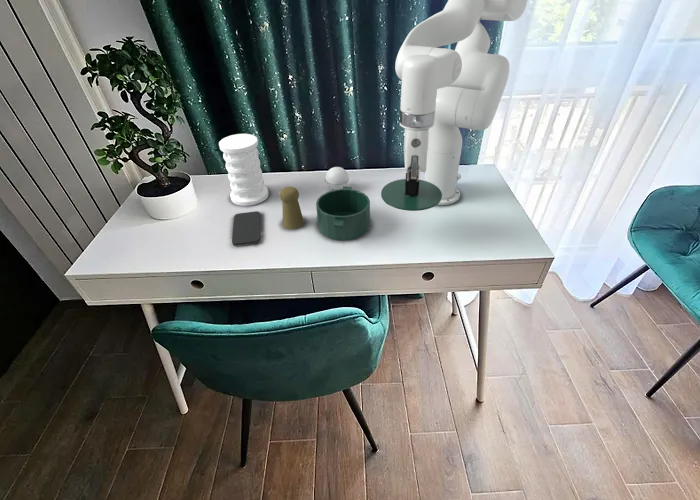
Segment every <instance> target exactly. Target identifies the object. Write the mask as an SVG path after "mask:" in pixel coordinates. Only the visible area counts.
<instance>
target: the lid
mask: <svg viewBox="0 0 700 500" xmlns="http://www.w3.org/2000/svg"><path fill="white" fill-rule="evenodd" d="M410 174H411V172H410ZM405 181H406V178H401V179H396V180H393V181H390V182H388V183H387V184H385V185H384V186H383V187H382V188H381V192H380V196H381V199H382V201H383V202H384V203H385V204H386V205H388V206H390V207H392V208H395V209H397V210H402V211H409V212H418V211H427V210H430V209H432V208H434V207H436V206H438V205H437V204H439V202H440V201H441V199H442V192H441V190H440V189H439V188H438V187H437V186H436V185H434V184H432V183H430V182H427V181H424V179H419V193H418V195H417V196H411V195H405Z"/></svg>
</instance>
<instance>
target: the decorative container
mask: <svg viewBox="0 0 700 500" xmlns="http://www.w3.org/2000/svg"><path fill="white" fill-rule="evenodd" d="M218 146H219V150H220V151H221V152H222V159H223V160H224V161H225V169H226V171H227V179H228V180H229V182H230V185H229V186H230V189H231V190H232V191H231V192H230V194H229V196H230V200H231V202H232V203H233V204H235V205H238V206H242V207H246V206H254V205H257V204H261V203H262V202H264V201H265V200H266V199H267V198H268V197H269V189H268V187H267V186H266V185H265V180H264V178H263V170H262V168H261V160H260V158H259V153H260V152H259V149H258V148H257V147H258V146H259V140H258V137H257V136H256V135H254V134H251V133H236V134H231V135H228V136H226V137H223V138H221V140H219V141H218Z"/></svg>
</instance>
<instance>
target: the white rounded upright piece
mask: <svg viewBox="0 0 700 500" xmlns="http://www.w3.org/2000/svg"><path fill="white" fill-rule="evenodd" d="M349 180H350V178H349V174H348V172H347V171H346V169H344V167H341V166H333V167H331V168H329V169H328V170H327V172H326V174H325V178H324V181H325V184H326V185H327V187H328V188H329V189H331V191H333V190H338V189H343V186H348V184H349Z"/></svg>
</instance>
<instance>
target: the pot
mask: <svg viewBox="0 0 700 500" xmlns="http://www.w3.org/2000/svg"><path fill="white" fill-rule="evenodd" d="M315 207H316V219H317V226H318V230H319V233H320V234H321V235H323V236H324V237H325V238H327V239H329V240H333V241H339V242H346V241H353V240H357V239H360V238H361V237H363V236H364V235H366V234H367V233H368V231H369V230H370V228H371V200H370V198H369V196H368V195H367V194H366V193H364V192H362V191H360V190H356V189H353V186H349V185H347V186H343V189H338V190H329V191H327V192H325V193H323V194H321V195H320V196H319V197H318V198H317V200H316V203H315Z"/></svg>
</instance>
